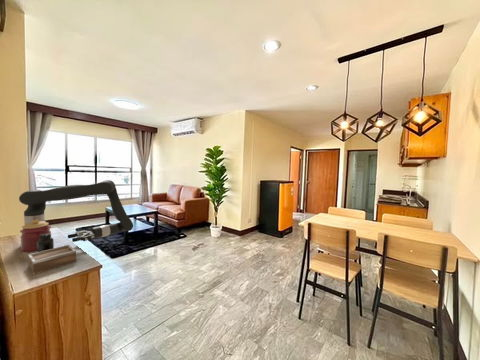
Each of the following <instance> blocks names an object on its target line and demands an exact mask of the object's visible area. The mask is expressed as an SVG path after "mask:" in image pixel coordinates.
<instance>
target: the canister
mask: <svg viewBox="0 0 480 360" xmlns="http://www.w3.org/2000/svg"><path fill="white" fill-rule="evenodd" d="M49 224H50V223H49V222H47V221H39V220H37V219H35V220H33V222H31V223H27V224H23V225H22V226H21V228H22V229H20V230H19V232H20V233H21V235H20V236H19V237H20V250H21V252H22V253H35V252H37V241H38V240H39V235H41V234H45V233H51V234H52V231H51V230H50V229H51V225H49Z"/></svg>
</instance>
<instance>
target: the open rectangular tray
mask: <svg viewBox="0 0 480 360" xmlns="http://www.w3.org/2000/svg"><path fill="white" fill-rule="evenodd" d="M27 256H28V258H27V259H28V260H27V261H28V268H29V270H30V271H31V273H32V274H33V275H37V274H40V273H43V272H45V271H49V270H53V269H56V268H60V267H62V266H66V265H70V264H73V263H76V262H77V250H76V249H75V248H73V247H72V246H71V245H70V244H67V245H61V246H59V247H58V246H57V247H54V248H53V249H49V250H45V251H41V252H37V251H35V252H31V253H29V254H27Z"/></svg>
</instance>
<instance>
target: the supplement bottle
mask: <svg viewBox="0 0 480 360" xmlns="http://www.w3.org/2000/svg"><path fill="white" fill-rule="evenodd" d="M54 242H55V241H54V238H53V237H52V232H51V233H45V234H41V235H39V240H38V241H37V251H36V252H41V251H45V250H49V249H53V248H55V243H54Z"/></svg>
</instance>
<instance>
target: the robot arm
mask: <svg viewBox="0 0 480 360" xmlns="http://www.w3.org/2000/svg"><path fill="white" fill-rule="evenodd" d="M103 195H106V196H107V197H108V199H109V203H110V205H111V211H112V213H113V215H114V217H115V219H116V220H117V221H119V222H117V223H111V224H110V223H109V224H105V225H100V226H99V225H98V226H95V227H91V228H90V230H87V229H84V230H78V231H75V233H70V234H67V239H71V241H72V242H73V243H75V242H80V241H83V242H86V241H90V240H96V239H100V238H104V237H107V236H111V235H115V234H117V233H121V232H130V231H131V230H133V229H134V223H133V221H132V219H131V218H130V217H129V215H127V212H126V210H125V208H124V206H123V204H122V202H121V200H120V197H119V193H118V189H117V187H116V184H115V182H114V181H112V180H110V179H106V180H102V181H100V182H96V183H92V184H70V185H64V186H58V187H54V188H50V189H46V190H40V189H32V190H27V191H24V192H22V193H21V194H20V195H19V197H18V199H19V201H18V202H20V203H21V204H23V205H25V206H27V208H26V209H25V210H24V211H23V219H24V220H23V221H24V223H23V225H25V224H27V223H31V222H33V220H35V219H37V220H39V221H45V210H46V206H47V202H57V201H66V200H73V199H74V200H75V199H79V198H85V197H89V196H103ZM45 222H46V221H45Z"/></svg>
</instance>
